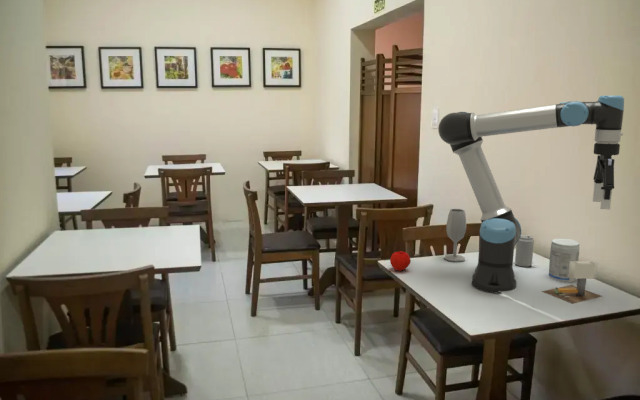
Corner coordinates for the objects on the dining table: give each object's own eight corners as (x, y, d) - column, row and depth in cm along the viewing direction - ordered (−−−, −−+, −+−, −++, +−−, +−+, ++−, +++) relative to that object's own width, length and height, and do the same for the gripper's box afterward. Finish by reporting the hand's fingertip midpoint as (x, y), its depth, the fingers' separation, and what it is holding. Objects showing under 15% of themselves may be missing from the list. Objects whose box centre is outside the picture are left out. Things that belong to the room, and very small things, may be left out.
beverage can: (533, 268, 204) (535, 238, 202) (516, 266, 205) (518, 237, 203) (530, 263, 210) (532, 234, 208) (513, 262, 211) (515, 233, 209)
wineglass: (467, 262, 210) (470, 212, 206) (446, 262, 210) (449, 212, 206) (462, 256, 219) (465, 207, 215) (441, 256, 219) (444, 207, 215)
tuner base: (572, 306, 165) (572, 301, 165) (541, 294, 176) (541, 289, 176) (602, 299, 172) (603, 294, 172) (571, 287, 183) (571, 283, 182)
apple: (405, 274, 195) (406, 256, 193) (386, 271, 199) (387, 252, 197) (413, 269, 202) (413, 250, 200) (394, 265, 205) (394, 247, 204)
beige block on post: (560, 295, 172) (563, 263, 170) (556, 292, 174) (559, 260, 172) (595, 295, 171) (599, 263, 169) (591, 293, 174) (595, 261, 172)
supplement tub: (562, 274, 197) (565, 237, 194) (582, 282, 188) (586, 243, 185) (542, 277, 193) (545, 239, 190) (561, 285, 184) (565, 246, 182)
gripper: (629, 145, 158) (622, 213, 162) (611, 140, 182) (605, 199, 186) (602, 145, 161) (595, 211, 165) (588, 140, 184) (582, 198, 188)
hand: (600, 205), depth 175 cm, fingers open, 13 cm apart
